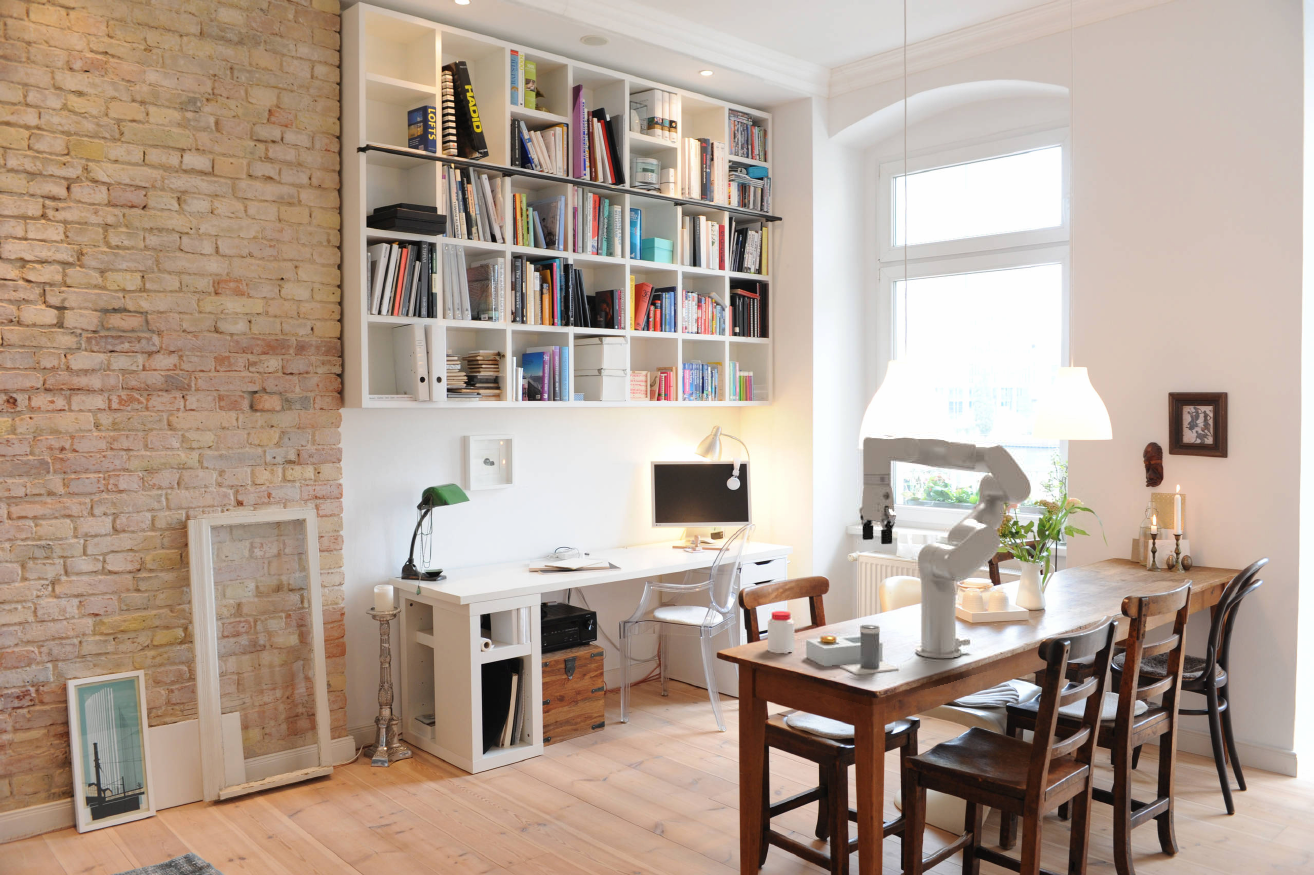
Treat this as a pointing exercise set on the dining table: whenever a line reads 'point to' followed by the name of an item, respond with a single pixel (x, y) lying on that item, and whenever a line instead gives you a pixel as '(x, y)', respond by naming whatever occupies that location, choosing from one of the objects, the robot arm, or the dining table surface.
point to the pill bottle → (781, 633)
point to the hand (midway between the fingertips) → (877, 541)
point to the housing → (837, 651)
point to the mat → (858, 670)
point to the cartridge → (869, 646)
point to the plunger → (828, 640)
